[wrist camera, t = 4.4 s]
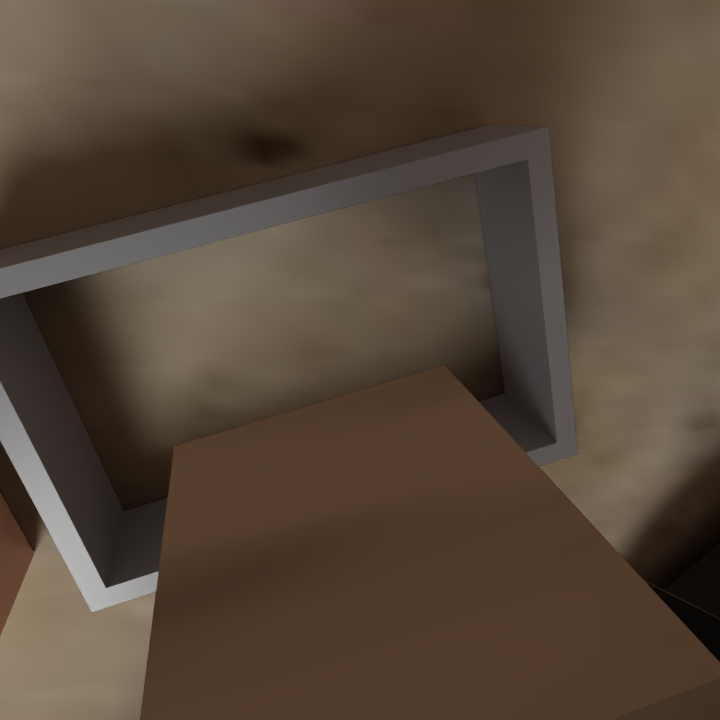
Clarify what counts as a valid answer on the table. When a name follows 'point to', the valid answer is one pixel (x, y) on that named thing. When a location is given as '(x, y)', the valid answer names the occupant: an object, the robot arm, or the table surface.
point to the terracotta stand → (11, 560)
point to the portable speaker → (701, 583)
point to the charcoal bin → (252, 213)
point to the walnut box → (401, 578)
